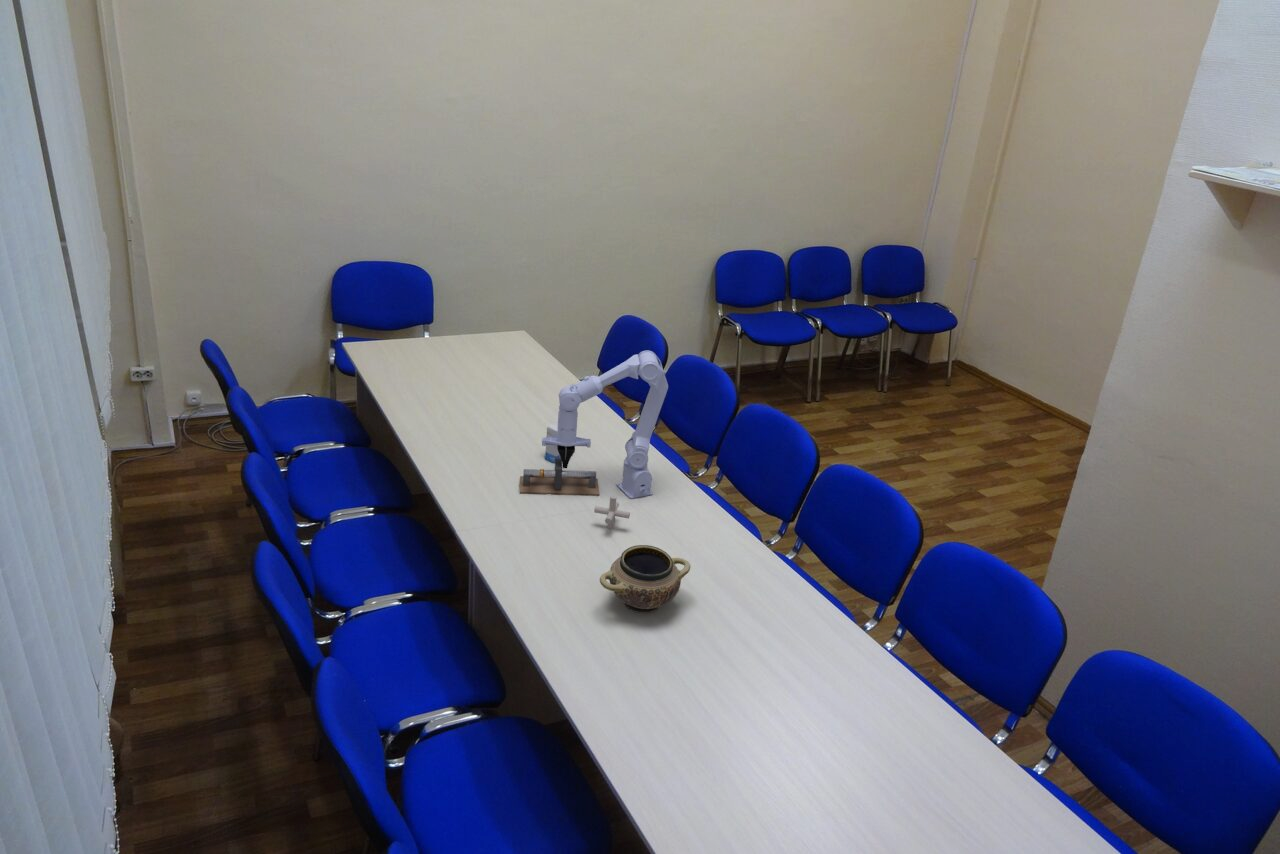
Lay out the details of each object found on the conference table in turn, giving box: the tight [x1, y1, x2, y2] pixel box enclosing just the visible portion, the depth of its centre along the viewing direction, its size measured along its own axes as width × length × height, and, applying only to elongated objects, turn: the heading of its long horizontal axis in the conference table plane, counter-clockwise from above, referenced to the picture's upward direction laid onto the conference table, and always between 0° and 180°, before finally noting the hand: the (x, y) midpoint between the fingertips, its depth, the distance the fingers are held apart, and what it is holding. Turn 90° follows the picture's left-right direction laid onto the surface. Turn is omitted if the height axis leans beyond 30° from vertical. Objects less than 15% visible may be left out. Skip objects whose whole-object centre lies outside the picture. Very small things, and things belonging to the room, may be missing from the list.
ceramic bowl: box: [599, 544, 691, 614], centre depth 230 cm, size 24×18×15 cm
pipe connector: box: [593, 495, 631, 530], centre depth 262 cm, size 10×10×10 cm
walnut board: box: [519, 475, 600, 497], centre depth 283 cm, size 24×10×1 cm, turn 96°
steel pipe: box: [522, 468, 597, 488], centre depth 281 cm, size 22×3×5 cm, turn 96°
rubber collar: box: [554, 459, 563, 490], centre depth 281 cm, size 2×7×7 cm, turn 6°
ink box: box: [544, 421, 566, 464], centre depth 298 cm, size 8×5×12 cm, turn 143°
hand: (564, 466), depth 280 cm, fingers closed
